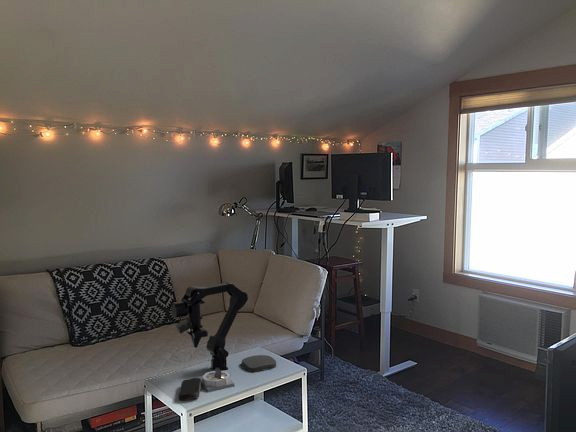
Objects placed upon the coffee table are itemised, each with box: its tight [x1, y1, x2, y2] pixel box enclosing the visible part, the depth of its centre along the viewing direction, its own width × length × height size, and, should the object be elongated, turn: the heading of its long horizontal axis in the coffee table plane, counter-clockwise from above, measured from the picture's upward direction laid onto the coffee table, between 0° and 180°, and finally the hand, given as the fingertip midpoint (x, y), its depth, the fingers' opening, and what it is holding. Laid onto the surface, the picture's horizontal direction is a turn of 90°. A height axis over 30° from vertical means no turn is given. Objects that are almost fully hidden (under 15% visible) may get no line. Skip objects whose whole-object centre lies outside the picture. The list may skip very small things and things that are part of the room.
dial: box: [207, 368, 225, 380], centre depth 221 cm, size 8×8×6 cm
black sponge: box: [178, 377, 202, 401], centre depth 213 cm, size 16×8×4 cm, turn 7°
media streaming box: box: [241, 354, 277, 373], centre depth 242 cm, size 15×15×3 cm
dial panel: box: [201, 370, 235, 393], centre depth 221 cm, size 12×12×4 cm
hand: (195, 347), depth 231 cm, fingers closed
